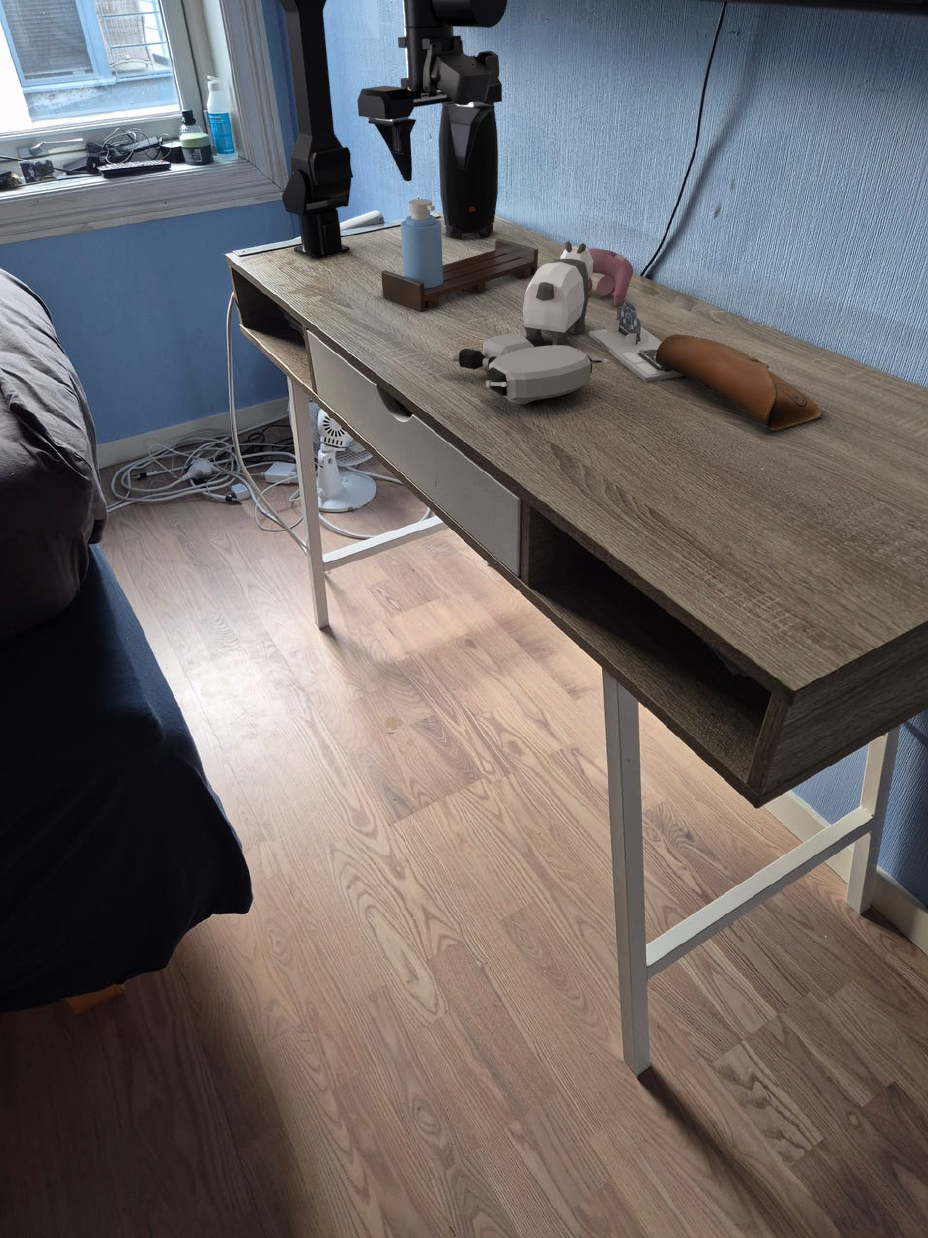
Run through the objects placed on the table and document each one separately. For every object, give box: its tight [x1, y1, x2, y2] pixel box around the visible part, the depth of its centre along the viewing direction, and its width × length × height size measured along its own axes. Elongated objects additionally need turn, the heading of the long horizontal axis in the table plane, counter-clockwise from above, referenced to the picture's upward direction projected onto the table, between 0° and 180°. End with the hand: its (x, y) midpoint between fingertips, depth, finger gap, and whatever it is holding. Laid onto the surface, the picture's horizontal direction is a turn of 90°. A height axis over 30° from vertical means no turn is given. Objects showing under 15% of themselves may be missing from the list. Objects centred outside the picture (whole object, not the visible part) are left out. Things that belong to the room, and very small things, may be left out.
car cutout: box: [588, 300, 685, 383], centre depth 100 cm, size 15×7×4 cm, turn 17°
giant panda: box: [522, 240, 594, 346], centre depth 104 cm, size 15×6×10 cm, turn 155°
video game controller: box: [587, 247, 634, 307], centre depth 115 cm, size 10×5×7 cm, turn 65°
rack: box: [380, 238, 539, 312], centre depth 120 cm, size 8×22×4 cm, turn 133°
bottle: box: [400, 198, 444, 289], centre depth 113 cm, size 5×5×10 cm
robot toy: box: [448, 333, 609, 405], centre depth 93 cm, size 12×4×15 cm
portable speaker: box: [438, 102, 499, 239], centre depth 136 cm, size 9×9×20 cm
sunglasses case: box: [656, 334, 824, 433], centre depth 90 cm, size 18×7×7 cm, turn 27°
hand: (435, 174), depth 110 cm, fingers open, 9 cm apart
